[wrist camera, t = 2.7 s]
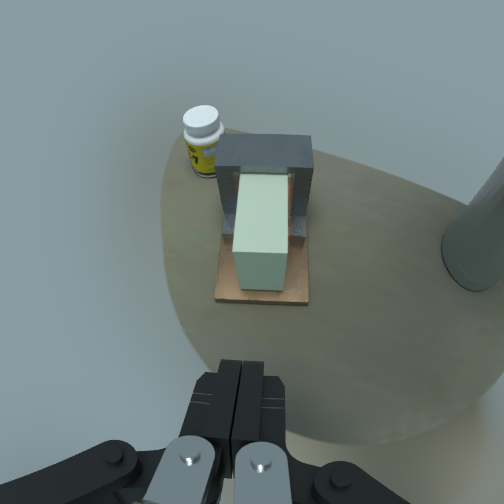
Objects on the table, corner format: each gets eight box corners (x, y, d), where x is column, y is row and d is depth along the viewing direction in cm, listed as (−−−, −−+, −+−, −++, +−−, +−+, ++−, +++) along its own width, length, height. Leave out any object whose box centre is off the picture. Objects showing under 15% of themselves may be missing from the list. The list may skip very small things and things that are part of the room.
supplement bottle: (188, 159, 40) (175, 111, 32) (221, 147, 41) (213, 98, 33) (199, 184, 38) (185, 134, 30) (234, 170, 39) (228, 120, 31)
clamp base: (306, 305, 30) (324, 260, 21) (216, 301, 31) (193, 256, 22) (304, 184, 37) (313, 117, 28) (230, 182, 38) (219, 116, 28)
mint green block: (282, 290, 30) (287, 253, 23) (240, 289, 30) (232, 251, 23) (283, 219, 33) (287, 169, 26) (246, 218, 34) (240, 168, 26)
